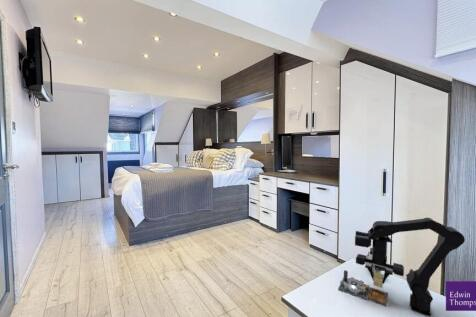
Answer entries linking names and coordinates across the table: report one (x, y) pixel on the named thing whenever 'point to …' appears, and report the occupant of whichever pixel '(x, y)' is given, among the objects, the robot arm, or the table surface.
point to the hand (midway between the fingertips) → (378, 281)
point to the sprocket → (353, 284)
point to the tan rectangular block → (378, 280)
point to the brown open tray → (377, 296)
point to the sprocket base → (353, 292)
